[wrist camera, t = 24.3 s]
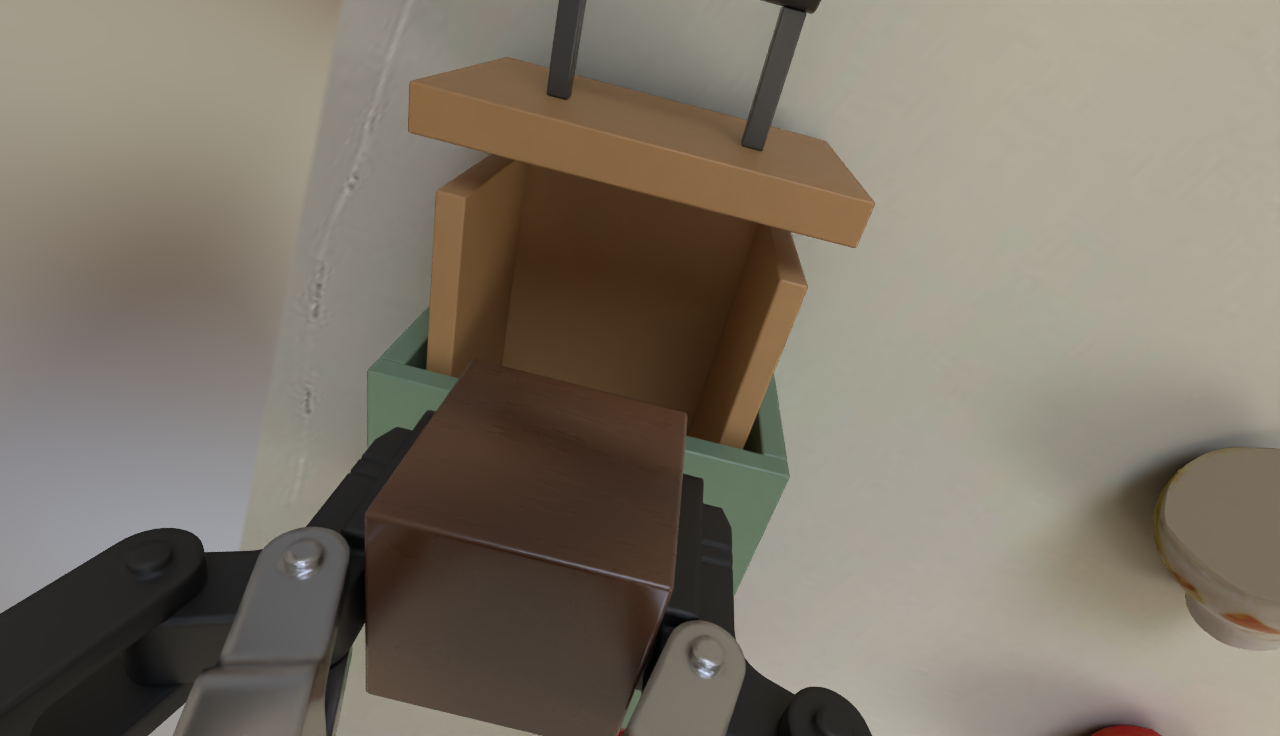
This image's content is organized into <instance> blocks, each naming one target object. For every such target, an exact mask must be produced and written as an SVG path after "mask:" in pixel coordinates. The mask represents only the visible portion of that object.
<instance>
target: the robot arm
mask: <svg viewBox="0 0 1280 736" xmlns="http://www.w3.org/2000/svg"><path fill="white" fill-rule="evenodd" d="M435 412H436V411H433V410H427V411H426V412H425V414H424V415H423V416H422V418H421V419H420V420H419V422H418V423H417V425H416V426H415V427H414V429H413V430H409V429H405V428H401V427H395V428H394V429H392V430H390V431H388V432H387V433H385V434H383V435H382V436H380V437H378V438H376V439H375V440H374V442H373V443H372V444H371V445H370V447H369V448H368V449H367V450H366V452H365V453H364V454H363V456H362V459H361V460H360V459H359V461H358V462H357V463H356V464H355V466H354V467H353V468H352V469H351V473H350V474H349V473H348V474H347V476H346V477H345V478H344V480H343V481H342V482H341V483H340V485H339V486H338V487H337V488H336V490H335V491H334V492H333V493H332V495H331V496H330V497H329V498H328V500H327V501H326V502H325V504H324V505H323V506H322V507H321V509H320V510H319V511H318V512H317V514H316V515H315V516H314V517H313V519H312V520H311V521H310V523H309V524H308V525H307V526H306V527H304V528H298V529H295V530H291V531H288V532H286V533H283V534H282V535H280V536H278V537H276V538H275V539H273V540H272V541H271V542H269V543H268V544H267V545H266V546H265V547H264V549H261V550H254V551H234V552H204V548H203V545H202V542H201V541H200V539H199V538H198V537H197V536H196V535H194V534H193V533H191V532H188V531H186V530H181V529H176V528H160V529H153V530H149V531H144V532H141V533H138V534H135V535H133V536H130V537H128V538H126V539H124V540H122V541H120V542H118V543H117V544H115V545H113V546H112V547H110V548H108V549H107V550H105V551H103V552H102V553H100V554H98V555H97V556H95V557H93V558H92V559H90V560H89V561H87V562H85V563H83V564H82V565H80V566H78V567H77V568H75V569H74V570H72V571H70V572H69V573H67V574H65V575H64V576H62V577H60V578H59V579H57V580H55V581H54V582H52V583H50V584H49V585H47V586H45V587H44V588H42V589H41V590H39V591H37V592H36V593H34V594H32V595H31V596H29V597H27V598H26V599H24V600H22V601H21V602H19V603H17V604H16V605H14V606H12V607H11V608H9V609H8V610H6V611H4V612H2V613H1V614H0V736H148V735H149V734H150V733H151V732H153V731H154V730H155V729H156V728H157V727H158V726H159V725H161V724H162V723H163V722H164V721H165V720H166V719H167V718H168V717H170V716H171V715H172V714H173V713H174V712H175V711H176V710H178V709H179V708H180V707H181V706H182V705H183V704H184V703H186V704H185V706H184V709H183V711H182V714H181V716H180V719H179V721H178V724H177V726H176V729H175V732H174V734H173V736H336V732H337V727H338V722H339V716H340V711H341V706H342V701H343V696H344V691H345V686H346V681H347V676H348V671H349V666H350V661H351V656H352V644H353V643H354V641H355V639H356V637H357V636H358V634H359V632H360V630H361V629H362V627H363V625H364V623H365V512H366V511H367V509H368V508H369V506H370V505H371V503H372V502H373V501H374V499H375V498H376V496H377V495H378V493H379V492H380V491H381V489H382V488H383V486H384V485H385V483H386V482H387V481H388V479H389V478H390V476H391V475H392V473H393V472H394V471H395V469H396V468H397V466H398V465H399V463H400V462H401V461H402V459H403V458H404V456H405V455H406V453H407V452H408V451H409V449H410V448H411V446H412V445H413V443H414V442H415V441H416V439H417V438H418V436H419V435H420V433H421V432H422V431H423V429H424V428H425V426H426V425H427V423H428V422H429V421H430V419H431V418H432V416H433V415H434V413H435ZM703 489H704V481H703V478H699V477H695V476H691V475H687V474H683V480H682V493H681V506H680V519H679V531H678V544H677V557H676V569H675V582H674V590H673V593H672V596H671V598H670V601H669V603H668V606H667V609H666V611H665V614H664V617H663V619H662V622H661V624H660V627H659V630H658V632H657V635H656V637H655V640H654V643H653V645H652V648H651V650H650V653H649V656H648V658H647V661H646V664H645V666H644V669H643V671H642V674H641V677H640V679H639V682H638V684H637V687H636V690H640V691H641V697H640V699H639V701H638V703H637V705H636V708H635V710H634V712H633V714H632V716H631V718H630V720H629V722H628V724H627V726H626V728H625V730H624V732H623V734H621V736H872V735H871V733H870V730H869V728H868V726H867V724H866V722H865V720H864V719H863V717H862V716H861V714H860V713H859V711H858V710H857V709H856V708H855V707H854V706H853V705H852V704H851V703H850V702H849V701H848V700H847V699H845V698H844V697H842V696H841V695H839V694H838V693H836V692H834V691H831V690H829V689H826V688H822V687H807V688H805V689H802V690H800V691H799V692H797V693H796V694H795V695H794V694H793V693H791V692H789V691H788V690H786V689H784V688H782V687H781V686H779V685H777V684H775V683H774V682H772V681H770V680H769V679H767V678H765V677H764V676H762V675H761V674H760V673H759V672H757V671H756V670H755V669H754V668H753V667H752V666H751V665H750V664H749V663H748V661H747V660H746V659H745V658H744V655H743V652H742V650H741V648H740V646H739V644H738V643H737V641H736V638H735V631H734V597H733V569H732V565H733V556H732V527H731V525H730V523H729V521H728V519H727V517H726V515H725V513H724V511H723V509H722V508H720V507H716V506H712V505H708V504H704V503H703Z"/></svg>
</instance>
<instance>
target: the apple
mask: <svg viewBox="0 0 1280 736" xmlns="http://www.w3.org/2000/svg"><path fill="white" fill-rule="evenodd" d="M1091 736H1162V735H1160V734H1158V733H1157V732H1155V731H1153V730H1152V729H1148V728H1142V727H1136V726H1128V725H1116V726H1111V727H1107V728H1103V729H1101V730H1099V731H1098V732H1096V733H1094V734H1093V735H1091Z"/></svg>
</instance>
